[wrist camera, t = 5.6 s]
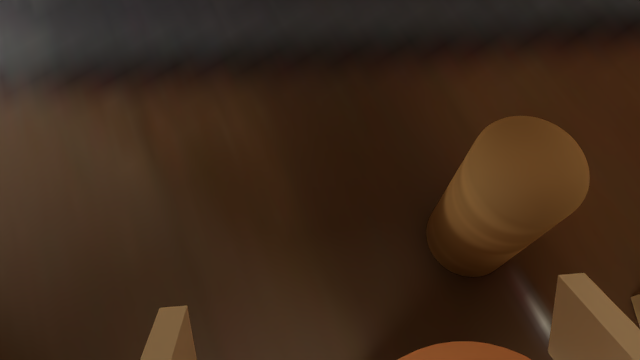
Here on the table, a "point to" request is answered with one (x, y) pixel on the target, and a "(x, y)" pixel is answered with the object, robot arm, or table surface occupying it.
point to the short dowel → (507, 194)
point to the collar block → (636, 306)
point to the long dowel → (464, 352)
